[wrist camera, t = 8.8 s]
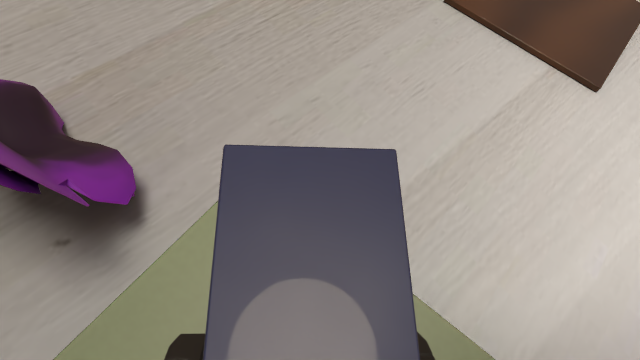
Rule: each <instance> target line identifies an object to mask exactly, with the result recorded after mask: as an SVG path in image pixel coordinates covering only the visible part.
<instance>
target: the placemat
mask: <svg viewBox="0 0 640 360" xmlns="http://www.w3.org/2000/svg"><path fill="white" fill-rule="evenodd" d="M444 2H446V3H448V4H449V5H451V6H453V7H454V8H456V9H458V10H459V11H461V12H463V13H464V14H466V15H468V16H470V17H471V18H473V19H475V20H476V21H478V22H480V23H481V24H483V25H485V26H486V27H488V28H490V29H491V30H493V31H495V32H496V33H498V34H500V35H501V36H503V37H505V38H506V39H508V40H510V41H511V42H513V43H515V44H516V45H518V46H520V47H521V48H523V49H525V50H526V51H528V52H530V53H531V54H533V55H535V56H537V57H538V58H540V59H542V60H543V61H545V62H547V63H548V64H550V65H552V66H553V67H555V68H557V69H558V70H560V71H562V72H563V73H565V74H567V75H568V76H570V77H572V78H573V79H575V80H577V81H578V82H580V83H582V84H583V85H585V86H587V87H588V88H590V89H592V90H593V91H595V92H597V91H598V90H599V89H600V88H601V87H602V85H603V83H604V82H605V80H606V78H607V77H608V75H609V73H610V72H611V70H612V69H613V67H614V65H615V64H616V62H617V60H618V59H619V57H620V55H621V54H622V52H623V50H624V49H625V47H626V45H627V44H628V42H629V40H630V39H631V37H632V35H633V34H634V32H635V30H636V29H637V27H638V25H639V24H640V2H638V1H636V0H444Z"/></svg>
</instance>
